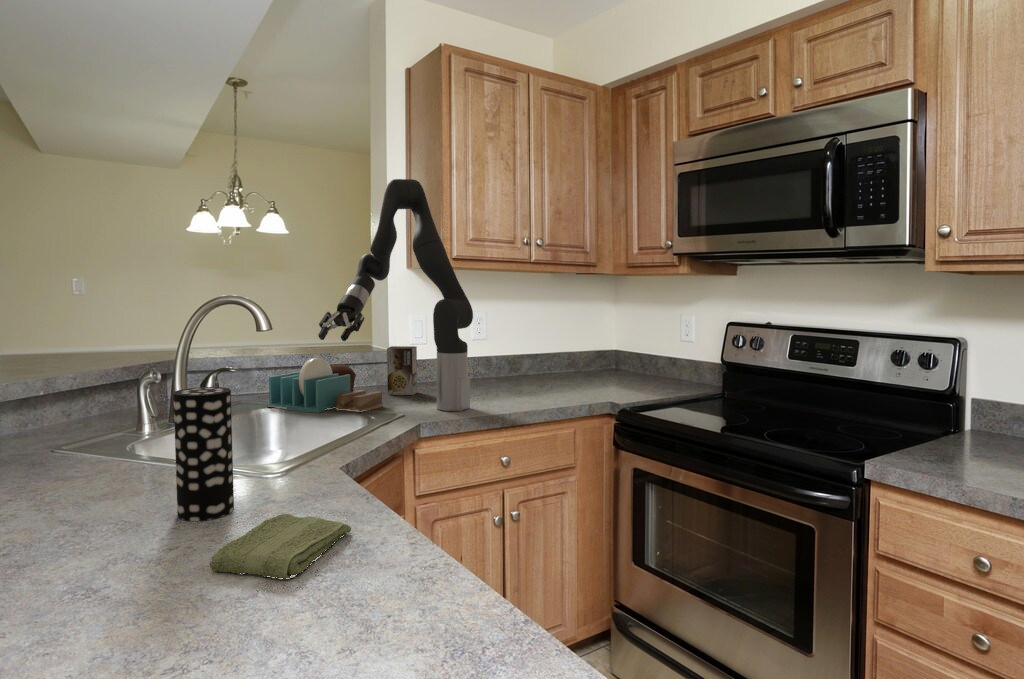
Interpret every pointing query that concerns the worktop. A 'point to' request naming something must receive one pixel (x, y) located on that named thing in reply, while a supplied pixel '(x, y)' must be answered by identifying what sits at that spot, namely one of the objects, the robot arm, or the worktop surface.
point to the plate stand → (359, 400)
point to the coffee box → (402, 370)
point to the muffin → (344, 373)
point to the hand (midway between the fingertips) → (331, 338)
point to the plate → (313, 371)
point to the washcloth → (279, 546)
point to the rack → (307, 391)
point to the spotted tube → (203, 453)
